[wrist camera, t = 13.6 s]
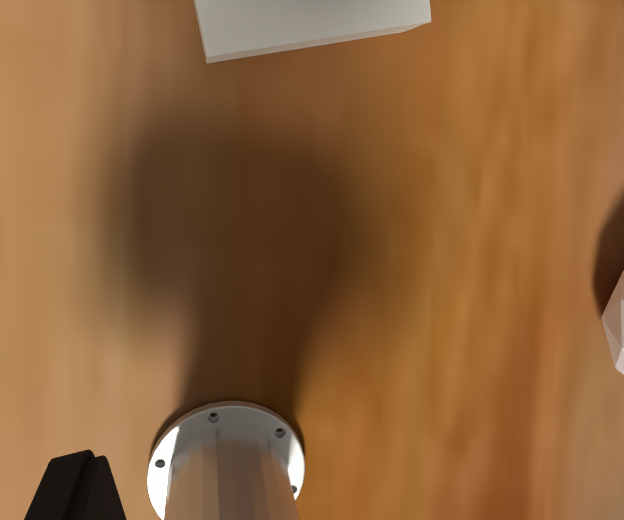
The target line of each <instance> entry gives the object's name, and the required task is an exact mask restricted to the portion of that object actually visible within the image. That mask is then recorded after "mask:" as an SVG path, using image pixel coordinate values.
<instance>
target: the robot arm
mask: <svg viewBox="0 0 624 520" xmlns="http://www.w3.org/2000/svg"><path fill="white" fill-rule="evenodd" d="M211 413H216V414H211ZM279 428H280V429H279ZM304 475H305V459H304V454H303V450H302V446H301V443H300V441H299V439H298V437H297V434H296V433H295V431H294V430H293V428H292V427H291V426H290V424H289V423H288V422H287V421H286V420H284V419H283V418H282V417H281V416H280V415H279V414H277V413H275V412H274V411H272V410H270V409H268V408H267V407H264V406H261V405H258V404H255V403H251V402H244V401H221V402H215V403H210V404H206V405H204V406H201V407H198V408H196V409H193V410H191V411H190V412H188V413H186V414H185V415H183V416H181V417H179V418H178V419H177V420H176V421H175V422H174V423H172V424H171V425H170V426H169V427H168V428H167V429H166V430H165V432H164V433H163V434H162V435H161V437H160V438H159V439H158V441H157V443H156V445H155V447H154V449H153V450H152V453H151V457H150V460H149V464H148V471H147V491H148V494H149V498H150V501H151V504H152V506H153V507H154V509H155V511H156V513H157V514H158V515H159V517H160V518H161V519H162V520H300V519H299V515H298V511H297V507H296V502H295V500H296V499H297V497H298V495H299V493H300V491H301V488H302V485H303V482H304ZM24 520H126V517H125V513H124V510H123V507H122V504H121V501H120V498H119V494H118V491H117V488H116V485H115V482H114V478H113V475H112V472H111V469H110V466H109V463H108V460H107V458H106V457H105V456H104V455H103V456H99V457H95V456H94V454H93V452H92V451H91V450H85V451H81V452H77V453H73V454H69V455H65V456H61V457H56V458H53V459H51V461H50V462H49V464H48V466H47V469H46V471H45V473H44V475H43V478H42V480H41V482H40V485H39V487H38V489H37V491H36V494H35V496H34V498H33V500H32V503H31V505H30V507H29V510H28V512H27V514H26V516H25V519H24Z"/></svg>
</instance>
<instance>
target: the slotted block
mask: <svg viewBox="0 0 624 520" xmlns="http://www.w3.org/2000/svg"><path fill="white" fill-rule="evenodd" d="M193 1H194V5H195V10H196V15H197V20H198V25H199V30H200V34H201V39H202V44H203V49H204V54H205V59H206V63H213V62H219V61H226V60H232V59H238V58H244V57H251V56H257V55H263V54H270V53H276V52H282V51H288V50H295V49H301V48H307V47H313V46H320V45H326V44H332V43H338V42H345V41H351V40H357V39H363V38H370V37H376V36H382V35H388V34H395V33H401V32H405V31H408V30H410V29H413V28H416V27H418V26H421V25H424V24H426V23H429V22H431V12H430V1H429V0H193Z"/></svg>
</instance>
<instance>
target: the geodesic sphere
mask: <svg viewBox="0 0 624 520" xmlns="http://www.w3.org/2000/svg"><path fill="white" fill-rule="evenodd" d="M601 318H602V321H603V325H604V329H605V332H606V336H607V340H608V343H609V347H610V351H611V354H612V358H613V362H614V365H615V368H616V369H617V370H619V371H620V372H621V373H622V374H624V270H623V272H622V275H621V277H620V279H619V281H618V283H617V285H616V287H615V289H614V291H613V294H612V296H611V298H610V300H609V302H608V304H607V306H606V308H605V310H604V313H603V315H602V317H601Z"/></svg>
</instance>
